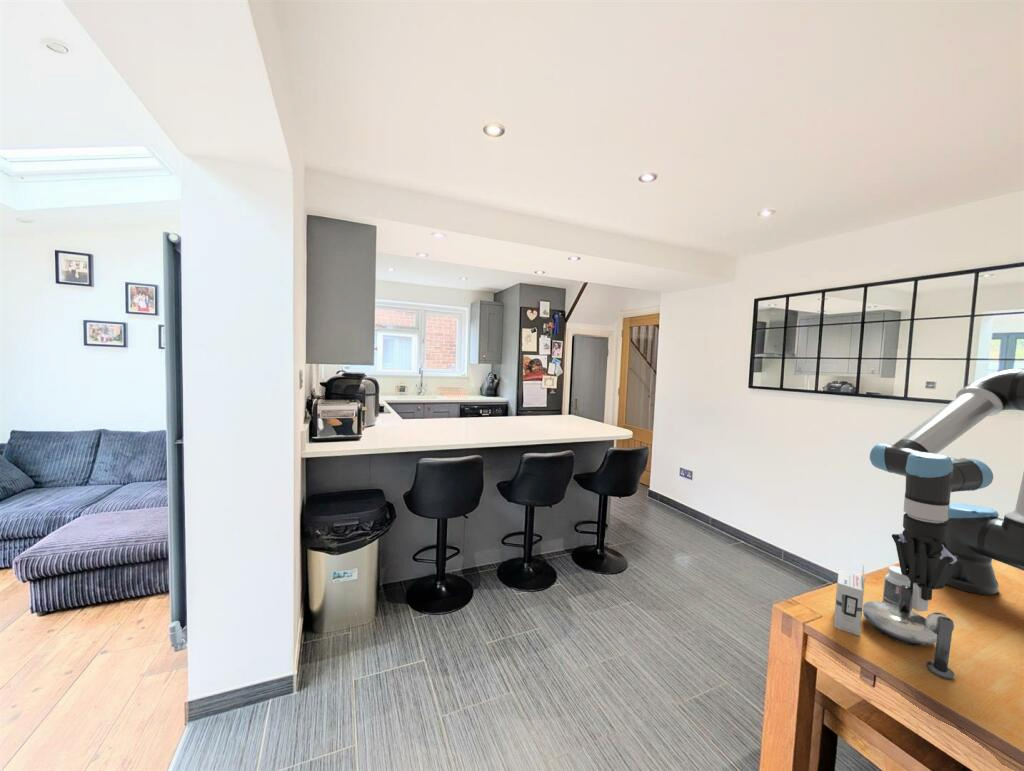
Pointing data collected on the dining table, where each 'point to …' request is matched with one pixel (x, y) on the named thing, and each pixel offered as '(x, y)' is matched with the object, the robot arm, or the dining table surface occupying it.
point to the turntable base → (897, 638)
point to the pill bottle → (894, 585)
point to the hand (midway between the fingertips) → (919, 609)
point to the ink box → (849, 601)
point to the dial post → (941, 644)
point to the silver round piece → (899, 619)
